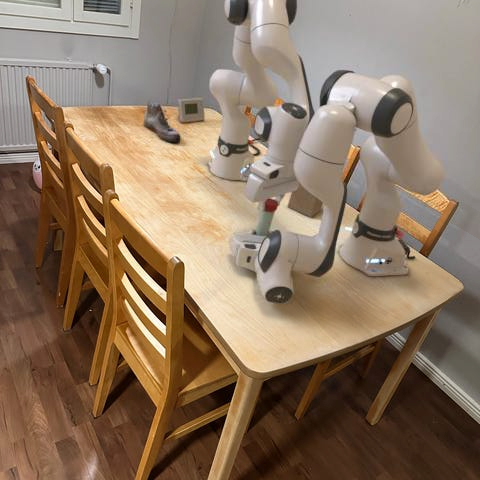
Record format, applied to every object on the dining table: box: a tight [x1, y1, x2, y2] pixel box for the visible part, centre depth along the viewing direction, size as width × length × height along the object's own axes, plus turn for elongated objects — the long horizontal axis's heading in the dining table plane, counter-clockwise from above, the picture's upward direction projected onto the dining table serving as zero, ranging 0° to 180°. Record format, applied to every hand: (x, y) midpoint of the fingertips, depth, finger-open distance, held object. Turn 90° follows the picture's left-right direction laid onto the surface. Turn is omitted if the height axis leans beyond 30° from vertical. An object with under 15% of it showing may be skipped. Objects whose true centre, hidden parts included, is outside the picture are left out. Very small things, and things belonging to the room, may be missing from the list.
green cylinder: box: [255, 211, 276, 236], centre depth 132 cm, size 4×4×16 cm
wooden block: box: [287, 184, 324, 218], centre depth 160 cm, size 10×10×20 cm
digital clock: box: [177, 97, 206, 124], centre depth 221 cm, size 16×9×11 cm, turn 123°
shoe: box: [143, 101, 181, 144], centre depth 198 cm, size 25×11×12 cm, turn 30°
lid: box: [264, 198, 279, 213], centre depth 128 cm, size 5×5×2 cm
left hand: (268, 208), depth 128 cm, fingers closed on lid, 5 cm apart
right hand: (260, 231), depth 134 cm, fingers closed on green cylinder, 4 cm apart
